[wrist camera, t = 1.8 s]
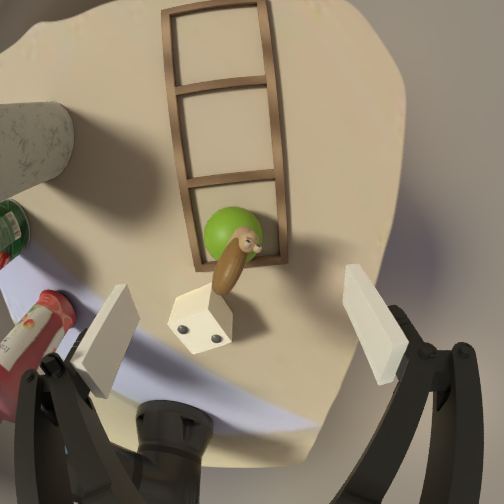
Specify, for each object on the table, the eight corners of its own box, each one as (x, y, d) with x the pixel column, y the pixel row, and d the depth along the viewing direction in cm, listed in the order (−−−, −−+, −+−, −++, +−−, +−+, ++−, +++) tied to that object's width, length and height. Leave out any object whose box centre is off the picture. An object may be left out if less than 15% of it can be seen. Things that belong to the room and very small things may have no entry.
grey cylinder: (45, 86, 20) (-32, 86, 8) (88, 133, 23) (8, 149, 12) (10, 149, 22) (-59, 173, 11) (48, 196, 25) (-22, 238, 14)
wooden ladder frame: (287, 260, 30) (288, 263, 29) (196, 269, 30) (195, 272, 30) (264, -2, 18) (264, -5, 17) (162, 12, 18) (161, 10, 17)
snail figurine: (274, 204, 27) (295, 261, 16) (247, 257, 30) (249, 335, 19) (224, 182, 26) (210, 225, 15) (199, 238, 28) (176, 308, 18)
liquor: (61, 276, 30) (-52, 443, 5) (90, 318, 33) (9, 490, 8) (35, 291, 31) (-61, 430, 6) (62, 328, 34) (-13, 473, 9)
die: (232, 313, 33) (231, 343, 28) (198, 326, 34) (192, 355, 29) (212, 282, 31) (207, 310, 26) (176, 297, 32) (166, 325, 27)
